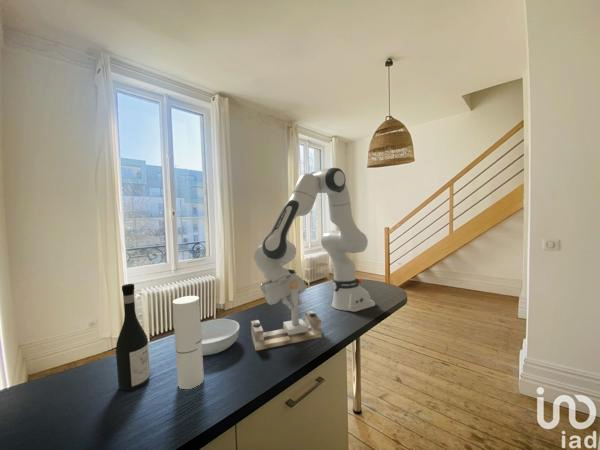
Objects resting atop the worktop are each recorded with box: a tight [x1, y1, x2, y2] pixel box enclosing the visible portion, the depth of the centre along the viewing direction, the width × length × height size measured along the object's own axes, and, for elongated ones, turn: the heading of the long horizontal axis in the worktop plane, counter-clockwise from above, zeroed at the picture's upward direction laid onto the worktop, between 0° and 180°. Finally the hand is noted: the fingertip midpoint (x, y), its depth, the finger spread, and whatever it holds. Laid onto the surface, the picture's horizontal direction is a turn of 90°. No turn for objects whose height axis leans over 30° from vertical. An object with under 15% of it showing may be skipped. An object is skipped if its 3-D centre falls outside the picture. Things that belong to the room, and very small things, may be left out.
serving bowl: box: [201, 318, 240, 356], centre depth 97 cm, size 21×21×7 cm
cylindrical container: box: [172, 295, 205, 390], centre depth 77 cm, size 7×7×25 cm
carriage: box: [282, 281, 309, 335], centre depth 103 cm, size 8×8×20 cm
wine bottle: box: [115, 283, 151, 391], centre depth 77 cm, size 8×8×30 cm
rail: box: [250, 310, 323, 352], centre depth 102 cm, size 26×10×7 cm, turn 109°
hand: (295, 306), depth 103 cm, fingers closed on carriage, 3 cm apart
